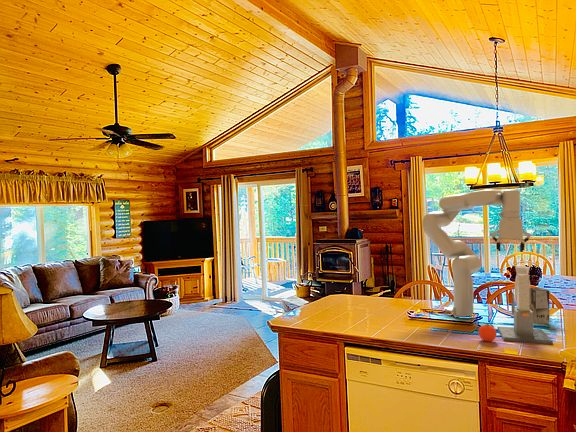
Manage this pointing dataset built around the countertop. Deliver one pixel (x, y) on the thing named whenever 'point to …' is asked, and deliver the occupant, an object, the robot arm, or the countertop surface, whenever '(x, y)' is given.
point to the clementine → (487, 332)
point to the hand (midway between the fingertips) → (510, 251)
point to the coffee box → (539, 304)
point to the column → (523, 292)
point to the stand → (524, 330)
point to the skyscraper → (519, 270)
